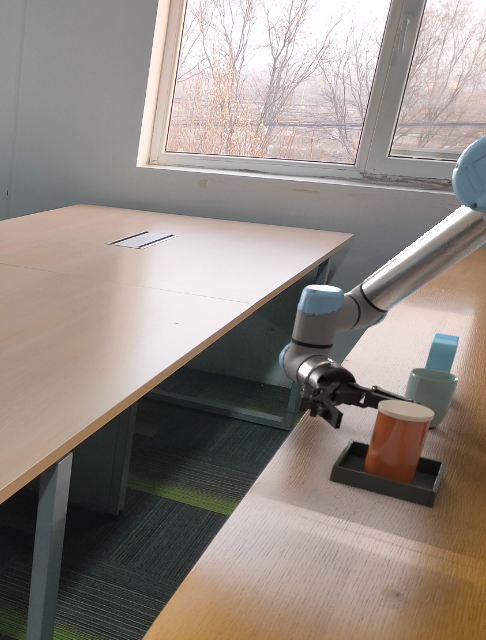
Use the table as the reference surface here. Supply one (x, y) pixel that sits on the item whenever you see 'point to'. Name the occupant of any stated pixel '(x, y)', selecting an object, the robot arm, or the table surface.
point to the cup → (432, 391)
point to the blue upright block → (442, 352)
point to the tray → (419, 492)
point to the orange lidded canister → (397, 440)
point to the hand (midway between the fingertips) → (381, 423)
